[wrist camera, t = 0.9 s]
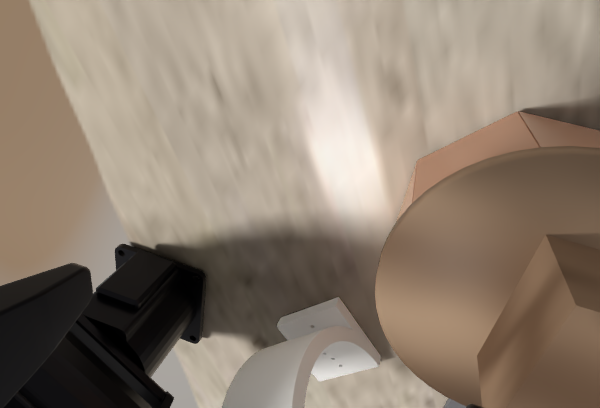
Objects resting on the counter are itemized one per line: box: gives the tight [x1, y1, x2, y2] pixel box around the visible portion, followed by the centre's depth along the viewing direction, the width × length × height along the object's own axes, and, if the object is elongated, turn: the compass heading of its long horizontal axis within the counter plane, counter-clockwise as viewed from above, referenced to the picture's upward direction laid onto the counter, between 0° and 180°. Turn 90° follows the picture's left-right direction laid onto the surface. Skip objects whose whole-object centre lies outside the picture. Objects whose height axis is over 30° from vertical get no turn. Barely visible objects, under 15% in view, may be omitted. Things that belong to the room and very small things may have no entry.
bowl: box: [396, 111, 600, 222], centre depth 18 cm, size 11×11×5 cm
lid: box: [375, 146, 600, 408], centre depth 14 cm, size 12×12×4 cm
